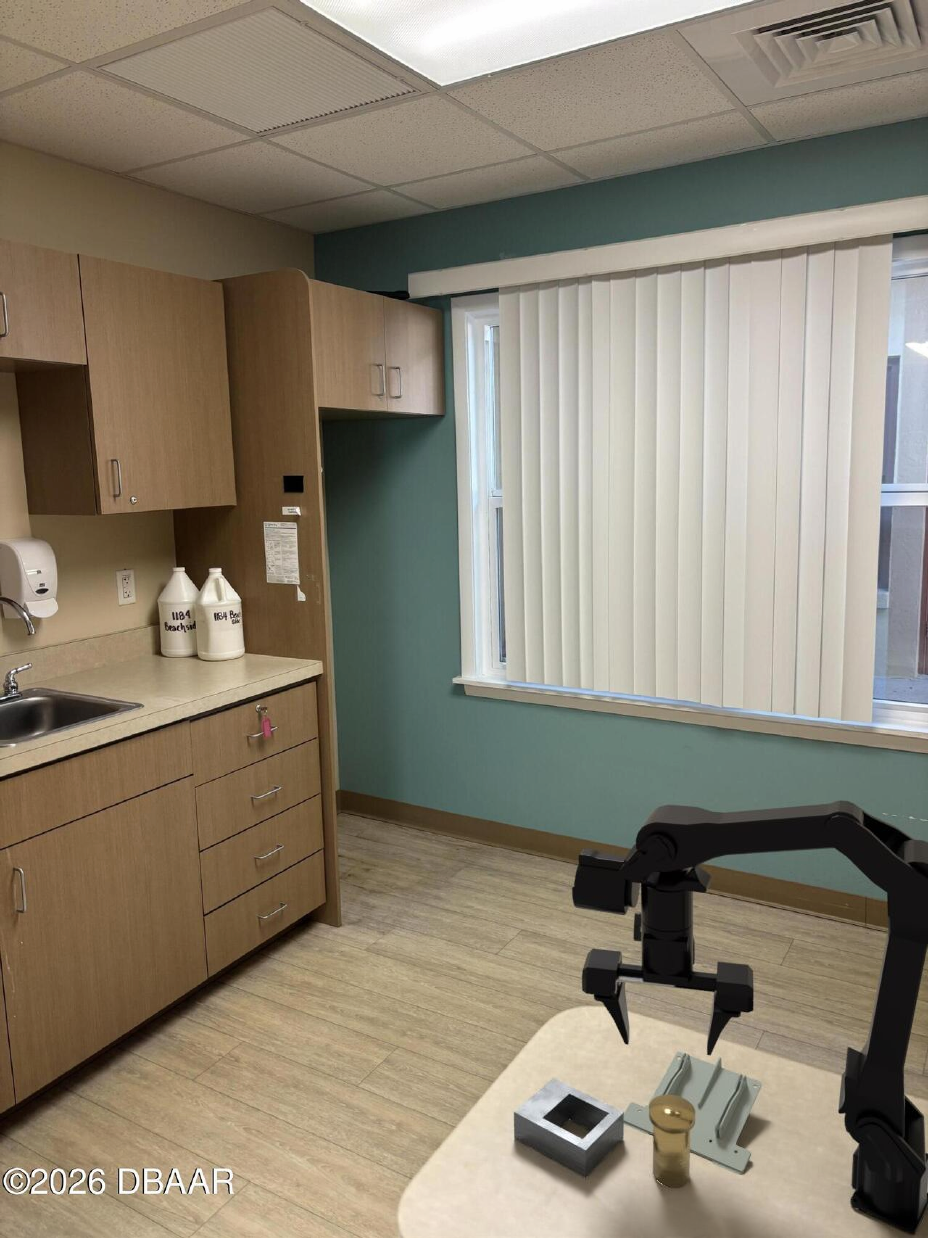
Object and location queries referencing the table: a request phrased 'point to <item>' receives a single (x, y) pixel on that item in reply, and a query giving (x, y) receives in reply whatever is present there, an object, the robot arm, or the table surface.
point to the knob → (671, 1139)
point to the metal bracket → (706, 1108)
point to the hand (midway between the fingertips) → (667, 1047)
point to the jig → (544, 1133)
